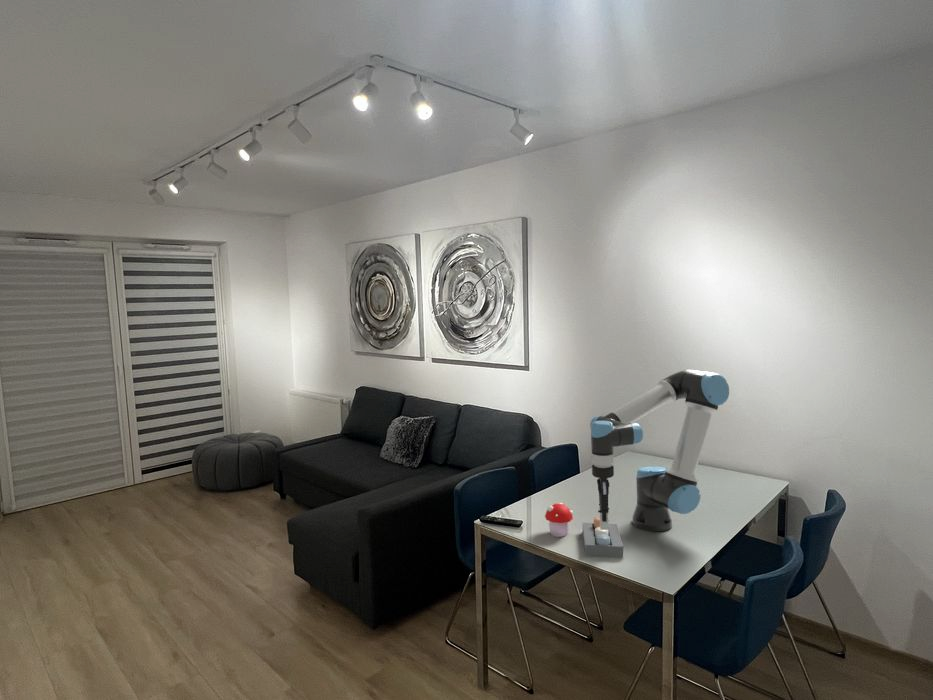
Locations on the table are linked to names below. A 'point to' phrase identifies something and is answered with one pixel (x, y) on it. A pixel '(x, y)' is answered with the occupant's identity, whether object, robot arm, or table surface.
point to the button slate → (602, 539)
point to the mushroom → (558, 519)
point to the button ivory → (600, 531)
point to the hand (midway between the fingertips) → (604, 528)
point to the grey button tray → (602, 550)
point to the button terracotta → (596, 522)
